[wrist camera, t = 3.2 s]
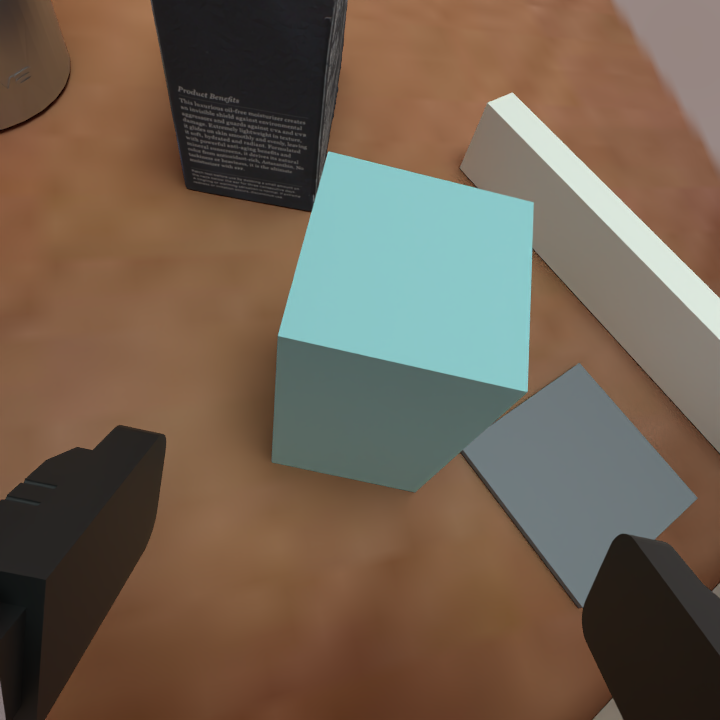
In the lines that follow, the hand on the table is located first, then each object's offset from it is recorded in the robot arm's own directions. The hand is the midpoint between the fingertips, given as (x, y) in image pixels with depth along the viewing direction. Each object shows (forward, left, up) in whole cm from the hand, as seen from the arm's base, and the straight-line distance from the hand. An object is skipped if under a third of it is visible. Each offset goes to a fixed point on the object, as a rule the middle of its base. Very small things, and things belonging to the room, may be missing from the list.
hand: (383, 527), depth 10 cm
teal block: (-4, +5, -11) cm, 12 cm away
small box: (-19, +10, -11) cm, 24 cm away
